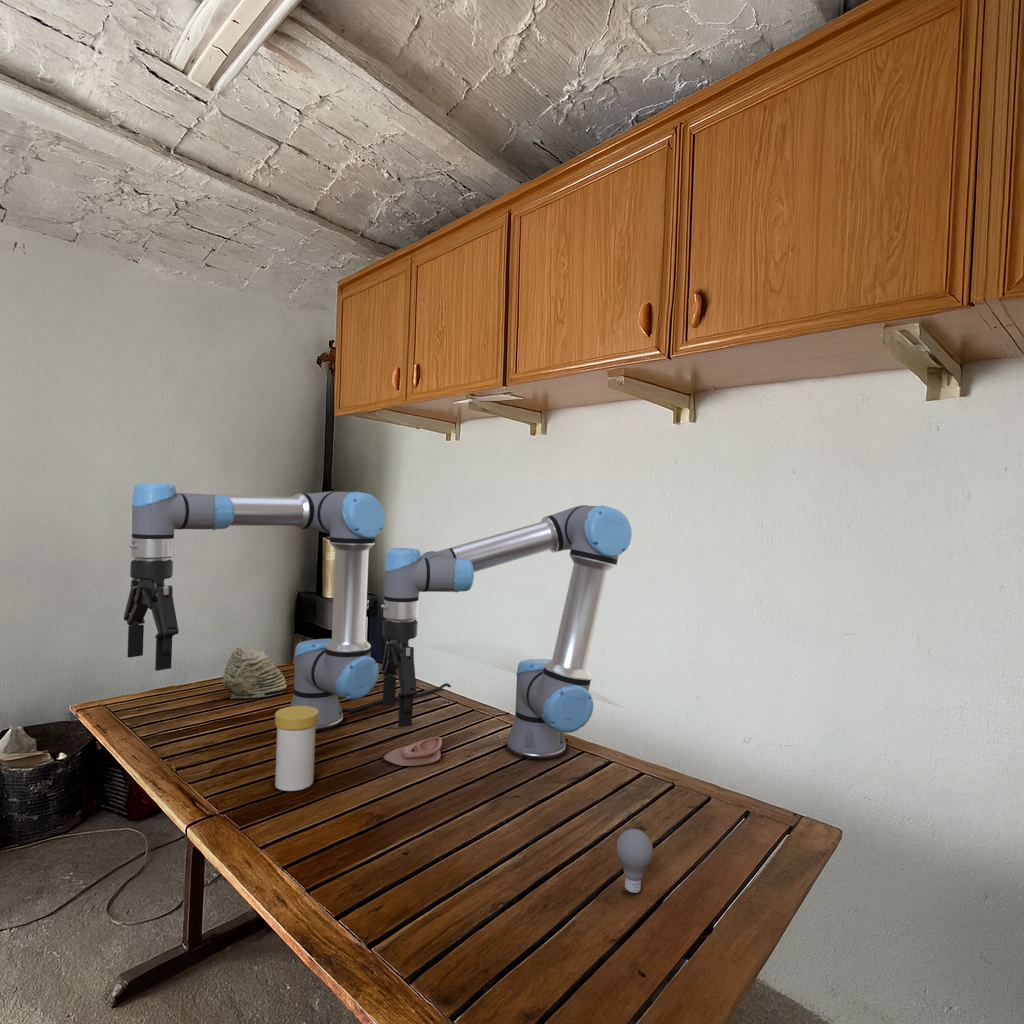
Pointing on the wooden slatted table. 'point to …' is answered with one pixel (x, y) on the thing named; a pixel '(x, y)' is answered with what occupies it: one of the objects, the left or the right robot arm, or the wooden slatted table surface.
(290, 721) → the lid
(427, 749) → the anatomical model
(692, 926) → the wooden slatted table surface
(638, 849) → the light bulb
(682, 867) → the wooden slatted table surface
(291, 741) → the jar
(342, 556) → the left robot arm
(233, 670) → the fossil
